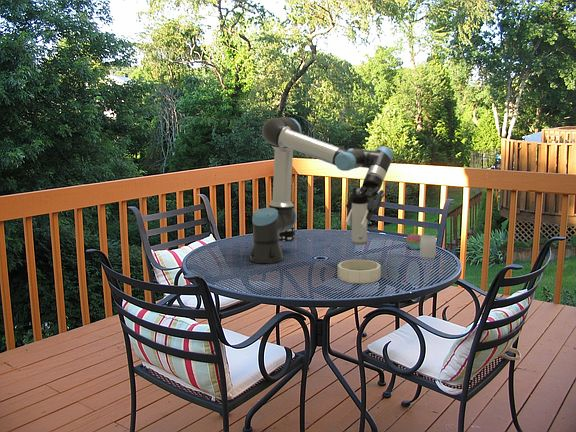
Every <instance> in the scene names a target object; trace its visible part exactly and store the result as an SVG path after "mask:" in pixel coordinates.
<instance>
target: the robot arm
mask: <svg viewBox="0 0 576 432" xmlns="http://www.w3.org/2000/svg"><path fill="white" fill-rule="evenodd" d="M261 133H262V136H263V139H264V140H265V142H267V143H268V144H270V145H271V147H272V149H273V150H274V155H273V156H274V159H273V160H274V163H273V183H272V186H273V187H272V200H271V201H270V202H269V205H268V207H263V208H259V209H257V210H255V211H253V213H252V219H251V221H252V238H253V239H252V240H253V242H252V243H253V244H252V248H251V251H250V254H249V255H250V256H249V260H251V261H252V262H251V261H250V262H251V263H254V262H255V263H254V264H258V263H271V264H276V263H275V262H277V263H279V261H280V262H282V261H283V260H284V256H283V251H282V249H281V247H280V243H279V241H280V240H279V233H281V232H284V231H287V230H289V229H290V228H292V227H293V226H294V225H296V223H297V220H298V219H297V218H298V215H297V212H296V211H295V208H294V209H293V203H292V202H293V201H291V200H292V199H291V197H292V178H293V177H292V176H293V174H292V173H293V158H294V157H293V156H294V151H296V152H299V153H301V154H304V155H306V156H309V157H312V158H315V159H316V160H317V159H318V160H319V161H322V162H325V163H328V164H330V165H333V166H336V168H337V169H338V170H340V171H343V172H344V171H345V172H348V171H351V170H354V169H358V168H365V169H368V170H367V171H366V174H365V177H364V179H363V182H362V186H360V188H356V187H353V190H352V191H353V192H352V194H351V195H350V198H348V199H349V200H348V201H347V203H346V205H345V207H346V209H347V214H346V216H347V218H346V220H345V224H346V225H347V226H348V227H350V226H351V225H352V197H354V196H356V195H368V197H367V199H368V200H369V201H368V209H367V210H366V213H365V215H364V218H363V220H362V222H361V224H362V226H363V227H364V228H365V226H366V224H367V225H368V221H370V220H371V219H372V217H373V216H372V215H373V214H374V213H375V214H378V213H379V210H380V208H381V205H382V200H383V198H384V197H385V191H384V190H383V189H381V188H382V186H383V182H384V180H385V178H386V176H387V173H388V171H389V168H390V166H391V164H392V160H393V157H394V151H393V150H392V149H391V148H390V147H388V146H383V145H382V146H378V148H377V149H376V150H368V149H360V148H353V147H352V148H348V149H347V150H346V149H343V148H342V147H341V148H340V147H339V146H336V145H334V144H330V143H327V142H325V141H322V140H319V139H316V138H314V137H311V136H309V135H306V134H303V133H302V126H301V125H300V123H299V122H298V121H297V120H296V119H295V118H293V117H287V116H285V117H284V116H283V117H272V118H269V119H268V120H266V121H265V122H264V124H263V126H262V129H261ZM375 196H376V199H375Z"/></svg>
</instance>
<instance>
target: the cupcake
mask: <svg viewBox="0 0 576 432" xmlns="http://www.w3.org/2000/svg"><path fill="white" fill-rule="evenodd" d="M416 229H417V227H416V226H414V228H413V230H414V231H413V233H411V234H409V235H407V236H406V237H405V241H406V242H407V243H408V247H409V249H411V250H420V240H421V235H422V234H418V233H416Z"/></svg>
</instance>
